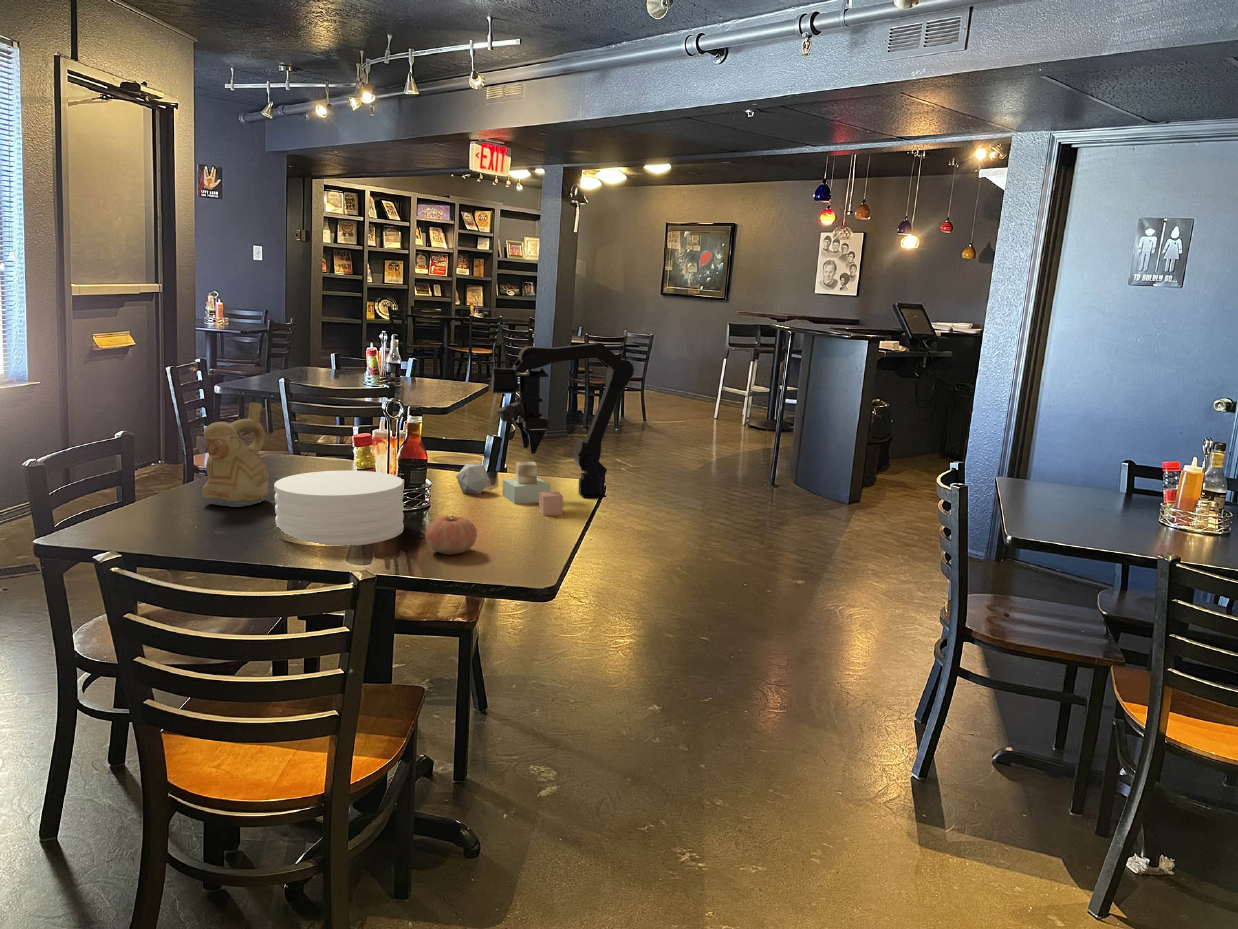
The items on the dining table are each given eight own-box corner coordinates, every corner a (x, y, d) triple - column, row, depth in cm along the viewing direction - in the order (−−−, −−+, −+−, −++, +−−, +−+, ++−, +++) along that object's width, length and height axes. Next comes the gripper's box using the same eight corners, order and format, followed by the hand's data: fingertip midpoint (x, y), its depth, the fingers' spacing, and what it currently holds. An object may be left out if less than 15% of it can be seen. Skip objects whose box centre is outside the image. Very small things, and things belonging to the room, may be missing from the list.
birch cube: (534, 479, 252) (534, 461, 251) (536, 483, 247) (537, 465, 246) (515, 479, 250) (516, 461, 249) (518, 483, 246) (518, 465, 245)
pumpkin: (421, 547, 199) (421, 511, 197) (470, 544, 203) (471, 509, 201) (430, 561, 189) (429, 523, 187) (481, 557, 193) (482, 520, 191)
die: (455, 491, 258) (448, 468, 251) (479, 474, 262) (472, 451, 255) (473, 506, 254) (466, 483, 247) (497, 488, 257) (490, 465, 250)
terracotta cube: (557, 510, 237) (558, 491, 236) (562, 515, 233) (562, 495, 232) (539, 511, 236) (539, 492, 235) (543, 515, 231) (543, 496, 230)
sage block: (536, 494, 256) (537, 477, 255) (549, 502, 247) (550, 484, 246) (502, 497, 252) (502, 479, 251) (514, 505, 243) (514, 486, 242)
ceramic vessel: (183, 507, 226) (178, 406, 222) (239, 492, 244) (235, 399, 240) (240, 514, 221) (236, 411, 216) (293, 498, 239) (290, 403, 235)
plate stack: (428, 529, 214) (428, 481, 212) (331, 555, 191) (329, 501, 189) (349, 510, 229) (348, 466, 227) (249, 532, 206) (247, 482, 204)
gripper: (493, 390, 252) (493, 445, 255) (507, 397, 235) (506, 457, 238) (533, 389, 256) (532, 445, 258) (549, 397, 238) (548, 456, 241)
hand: (529, 450), depth 249 cm, fingers open, 9 cm apart
